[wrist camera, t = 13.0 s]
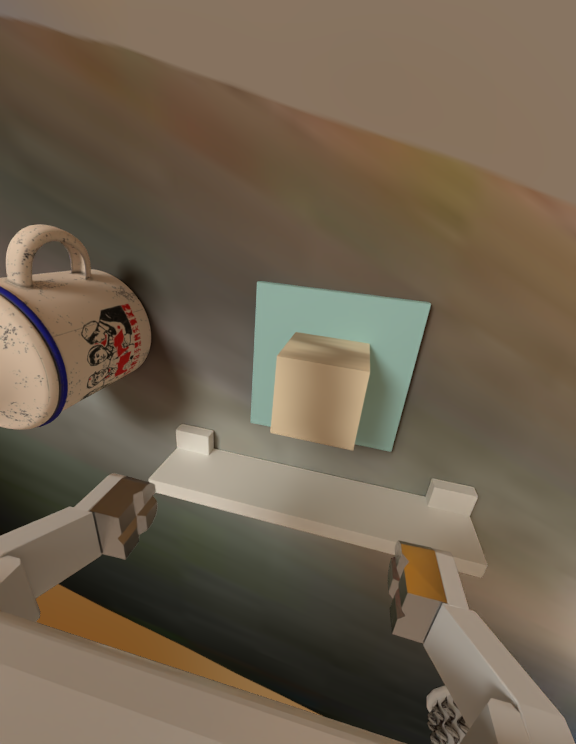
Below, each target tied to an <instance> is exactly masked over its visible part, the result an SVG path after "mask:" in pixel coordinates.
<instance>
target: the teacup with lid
mask: <svg viewBox="0 0 576 744" xmlns="http://www.w3.org/2000/svg"><path fill="white" fill-rule="evenodd" d="M51 241H59V242H61V243H62V244H63V245H64V246H65V248H66V249H67V251H68V253H69V256H70V261H71V271H63V272H53V273H44V274H34V275H32V262H33V258H34V255H35V254H36V252H37V250H38V249H39V248H40V247H41V246H42V245H43V244H45V243H47V242H51ZM6 271H7V277H5V278H0V427H4V428H9V429H31V428H35V427H40V426H43V425H46V424H48V423H50V422H52V421H53V420H54V419H56V418H57V417H58V416H59V414H60V413H61V411H63V410H65V409H67V408H68V407H70V406H72V405H74V404H76V403H77V402H79V401H81V400H83V399H85V398H86V397H88V396H90V395H92V394H93V393H95V392H97V391H99V390H101V389H102V388H104V387H106V386H108V385H110V384H111V383H113V382H115V381H117V380H118V379H120V378H122V377H124V376H126V375H127V374H129V373H131V372H133V371H135V370H136V369H137V368H139V367H140V366H141V365H142V364H143V362H144V361H145V359H146V358H147V355H148V353H149V350H150V346H151V329H150V324H149V320H148V317H147V314H146V312H145V310H144V308H143V306H142V304H141V302H140V301H139V299H138V298H137V297H136V295H135V294H134V293H133V292H132V290H131V289H130V288H129V287H128V286H127V285H125V284H124V283H123V282H122V281H120V280H119V279H118V278H116V277H114V276H112V275H110V274H108V273H106V272H103V271H99V270H94V269H91V264H90V258H89V255H88V252H87V250H86V248H85V247H84V245H83V244H82V243H81V242H80V241H79V240H78V239H77V238H76V237H74V236H73V235H71V234H70V233H68V232H66V231H64V230H61V229H59V228H56V227H53V226H49V225H31V226H28V227H25V228H23V229H22V230H20V231H19V232H18V233H17V234H16V235H15V236H14V237H13V239H12V240H11V242H10V244H9V246H8V249H7V254H6Z"/></svg>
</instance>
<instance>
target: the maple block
mask: <svg viewBox="0 0 576 744" xmlns="http://www.w3.org/2000/svg"><path fill="white" fill-rule="evenodd" d="M369 375H370V344H369V343H363V342H356V341H350V340H344V339H337V338H331V337H325V336H318V335H312V334H306V333H299V332H295V333H294V335H293V336H292V337H291V339H290V340H289V341H288V342H287V344H286V345H285V346H284V348H283V349H282V350H281V351H280V353H279V354H278V355H277V360H276V372H275V384H274V395H273V407H272V419H271V431H270V433H274V434H279V435H283V436H288V437H293V438H297V439H302V440H306V441H311V442H316V443H320V444H325V445H330V446H334V447H339V448H343V449H348V450H353V449H354V444H355V440H356V435H357V430H358V426H359V421H360V417H361V412H362V407H363V403H364V398H365V394H366V389H367V384H368V380H369Z"/></svg>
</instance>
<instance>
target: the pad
mask: <svg viewBox="0 0 576 744" xmlns="http://www.w3.org/2000/svg"><path fill="white" fill-rule="evenodd" d="M430 306H431V303H430V302H423V301H415V300H407V299H399V298H391V297H383V296H375V295H367V294H359V293H351V292H343V291H335V290H327V289H319V288H311V287H303V286H295V285H287V284H279V283H272V282H264V281H259V282H257V297H256V318H255V339H254V361H253V382H252V404H251V423H255V424H260V425H265V426H269V427H271V419H272V407H273V395H274V384H275V372H276V360H277V355H278V354H279V353H280V351H281V350H282V349H283V348H284V346H285V345H286V344H287V342H288V341H289V340H290V339H291V337H292V336H293V335H294V333H295V332H299V333H306V334H312V335H318V336H325V337H331V338H337V339H344V340H350V341H356V342H363V343H369V344H370V375H369V380H368V384H367V389H366V394H365V398H364V403H363V407H362V412H361V417H360V421H359V426H358V430H357V435H356V440H355V444H356V445H361V446H366V447H370V448H375V449H380V450H385V451H390V452H391V451H392V447H393V443H394V440H395V436H396V432H397V429H398V425H399V421H400V418H401V414H402V410H403V406H404V403H405V399H406V395H407V392H408V388H409V384H410V380H411V377H412V373H413V369H414V366H415V362H416V358H417V354H418V351H419V347H420V343H421V340H422V336H423V332H424V329H425V325H426V321H427V317H428V314H429V310H430Z"/></svg>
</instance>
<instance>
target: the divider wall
mask: <svg viewBox="0 0 576 744" xmlns="http://www.w3.org/2000/svg"><path fill="white" fill-rule="evenodd" d="M176 441H177V448H176V450H175V451H174V452H173V453H172V454H171V455H170V456H169V457H168V458H167V459H166V460H165V462H164V463H163V464H162V465H161V466H160V467H159V468H158V469H157V470H156V471H155V472H154V474H153V475H152V476H151V477H150V478H149V482H150V483H153V484H155V489H156V493H160V494H164V495H168V496H171V497H175V498H179V499H183V500H187V501H190V502H194V503H198V504H202V505H206V506H209V507H213V508H217V509H221V510H225V511H228V512H232V513H236V514H240V515H244V516H247V517H251V518H255V519H259V520H263V521H266V522H270V523H274V524H278V525H282V526H285V527H289V528H293V529H297V530H301V531H304V532H308V533H312V534H316V535H320V536H324V537H327V538H331V539H335V540H339V541H343V542H346V543H350V544H354V545H358V546H362V547H365V548H369V549H373V550H377V551H381V552H384V553H388V554H392V555H395V549H394V548H395V545H396V543H397V541H398V540H399V541H404V542H408V543H413V544H417V545H422V546H426V547H431V548H434V549H439V550H443V551H447V552H451V554H452V555H453V557H454V560H455V563H456V567H457V570H458V572H460V573H464V574H468V575H472V576H476V577H479V578H482V577H483V575H484V573H485V571H486V569H487V567H488V564H487V562H486V559H485V556H484V553H483V551H482V548H481V545H480V543H479V540H478V537H477V534H476V532H475V529H474V526H473V524H472V521H471V518H470V514H471V512H472V510H473V508H474V505H475V503H476V501H477V498H478V495H477V493H476V491H475V488H474V487H471V486H466V485H462V484H457V483H452V482H448V481H443V480H439V479H434V478H432V479H431V482H430V485H429V488H428V491H427V494H426V497H425V496H420V495H416V494H411V493H407V492H403V491H398V490H394V489H389V488H385V487H381V486H376V485H372V484H367V483H363V482H359V481H354V480H350V479H346V478H341V477H337V476H332V475H328V474H324V473H319V472H315V471H310V470H306V469H302V468H297V467H293V466H289V465H284V464H280V463H275V462H271V461H267V460H262V459H258V458H253V457H249V456H245V455H240V454H236V453H232V452H227V451H223V450H218V449H214V431H213V430H209V429H204V428H200V427H195V426H190V425H186V424H181V425H180V426H179V427H178V428H177V429H176Z"/></svg>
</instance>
